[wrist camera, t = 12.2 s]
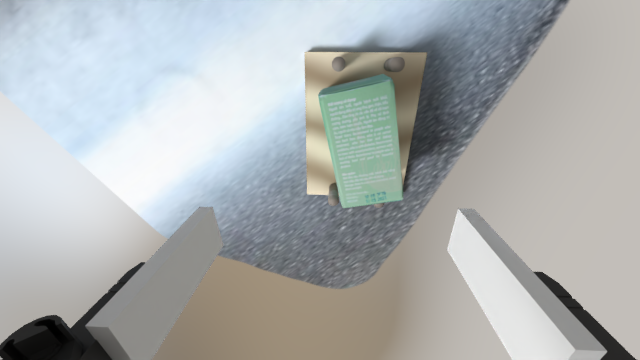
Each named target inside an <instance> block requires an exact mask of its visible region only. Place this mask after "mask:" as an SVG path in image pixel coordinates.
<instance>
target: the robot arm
mask: <svg viewBox="0 0 640 360" xmlns="http://www.w3.org/2000/svg"><path fill="white" fill-rule="evenodd" d="M222 247H223V242H222V239H221V235H220V232H219V228H218V224H217V221H216V217H215V214H214V210H213V207H199V208H198V209H197V210H196V211H195V212H194V213H193V214H192V215H191V216H190V217H189V218H188V219H187V220H186V221H185V222H184V223H183V224H182V226H181V227H180V228H179V229H178V230H177V231H176V232H175V233H174V234H173V235H172V236H171V237H170V238H169V239H168V240H167V241H166V242H165V243H164V244H163V245H162V247H160V248H159V249H158V251H157V252H156V253H155V254H154V255H153V256H152V257H151V258H150V259H149V260H148V261H147V262H146V263H145V262H141V263H140V264H138V265H137V266H135V267H134V268H132V269H131V270H129V271H128V272H127V273H126V274H125V275H124V276H123V277H122V278H121V279H120V280H119V281H118V282H117V284H115V285H114V286H113V287H112V288H111V289H110V290H109V291H108V293H106V294H105V295H104V296H103V297H102V298H101V299H100V300H99V301H98V302H97V303H96V304H95V305H94V306H93V307H92V308H91V309H90V310H89V311H88V312H87V313H86V314H85V315H84V316H83V317H82V318H81V319H80V320H79V321H77V322H76V323H75V325H74V326H73V327H72V328H69V327H68V326H67V324H66V323H65V322H64V321H63V320H62V318H60V317H58V316H57V315H51V316H45V317H42V318H39V319H36V320H34V321H32V322H30V323H28V324H26V325H24V326H23V327H21V328H20V329H18V330H17V331H15V332H14V333H12V334H11V335H10V336H9V337H8V338H7V339H6V340H5V341H4V342H3V343H1V345H0V356H1V358H3V359H2V360H152V358H153V357H154V355H155V354H156V352H157V351H158V349H159V347H160V346H161V344H162V343H163V341H164V339H165V338H166V336H167V335H168V333H169V331H170V329H171V328H172V327H173V325H174V323H175V322H176V320H177V319H178V317H179V315H180V314H181V312H182V311H183V309H184V307H185V306H186V304H187V303H188V301H189V299H190V298H191V296H192V294H193V293H194V291H195V290H196V288H197V287H198V285H199V283H200V282H201V280H202V279H203V277H204V275H205V274H206V272H207V270H208V269H209V267H210V266H211V264H212V263H213V261H214V259H215V258H216V256H217V255H218V253H219V251H220V250H221V248H222ZM447 250H448V252H449V254H450V255H451V257H452V258H453V260H454V262H455V264H456V265H457V267H458V269H459V270H460V272H461V274H462V275H463V277H464V279H465V281H466V282H467V284H468V286H469V287H470V289H471V291H472V293H473V294H474V296H475V298H476V299H477V301H478V302H479V304H480V306H481V308H482V309H483V311H484V313H485V315H486V316H487V318H488V319H489V321H490V323H491V325H492V326H493V328H494V330H495V331H496V333H497V335H498V336H499V338H500V340H501V341H502V343H503V345H504V347H505V348H506V350H507V352H508V353H509V355H510V357H511V359H512V360H636V359H635V358H634V357H633V356H632V355H630V354H629V353H628V352H627V351H626V350H625V349H624V348H623V347H622V346H621V345H620V344H619V343H618V342H617V341H616V340H615V339H614V338H613V337H612V336H611V335H610V334H609V333H608V332H607V331H606V330H605V329H604V328H603V327H602V326H601V325H600V324H599V323H598V322H597V321H596V320H595V319H594V318H593V317H592V316H591V315H590V314H589V313H588V312H587V311H586V310H584V309H583V307H582V306H581V305H580V304H579V303H578V302H577V301H576V300H575V299H572V296H571V295H570V294H569V293H568V292H567V291H566V290H565V289H564V288H563V287H562V286H561V285H560V284H559V283H558V282H556V281H555V280H553V279H552V278H550V277H549V276H547V275H546V274H544V273H543V272H533V271H532V270H531V269H530V268H529V267H528V266H527V265H526V264H525V263H524V262H523V261H522V260H521V259H520V258H519V256H518V255H517V254H516V253H515V252H514V251H513V250H512V249H511V248H510V247H509V246H508V245H507V244H506V243H505V241H504V240H503V239H502V238H501V237H500V236H499V235H498V234H497V233H496V232H495V231H494V230H493V229H492V228H491V227H490V226H489V224H488V223H487V222H486V221H485V220H484V219H483V218H482V217H481V216H480V215H479V214H478V213H477V212H476V211H475V210H474V209H458V211H457V215H456V219H455V223H454V226H453V230H452V234H451V237H450V241H449V245H448V248H447Z"/></svg>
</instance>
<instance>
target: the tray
mask: <svg viewBox="0 0 640 360" xmlns="http://www.w3.org/2000/svg"><path fill="white" fill-rule="evenodd" d="M426 57H427V52H305V98H306V153H307V194H317V195H329V197H328V203H329V204H330V205H332V206H335V205H337V204H338V203H339V192H338V187H337V183H336V178H335V173H334V168H333V164H332V159H331V155H330V150H329V145H328V141H327V136H326V132H325V127H324V122H323V118H322V113H321V108H320V104H319V98H318V94H319V92H320V91H321V90H322V89H324V88H328V87H332V86H336V85H340V84H344V83H348V82H353V81H357V80H361V79H365V78H369V77H373V76H377V75H381V74H385V75H386V76H388V77H391V78H392V80H393V83H394V86H395V104H396V115H397V127H398V139H399V150H400V161H401V172H402V183H404V178H405V172H406V167H407V161H408V156H409V150H410V145H411V139H412V134H413V128H414V123H415V117H416V112H417V106H418V101H419V95H420V90H421V84H422V79H423V73H424V68H425V62H426ZM383 205H384V203H379V204H374V206H375V207H377V208H380V207H382V206H383Z"/></svg>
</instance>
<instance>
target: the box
mask: <svg viewBox="0 0 640 360" xmlns="http://www.w3.org/2000/svg"><path fill="white" fill-rule="evenodd" d="M318 98H319V104H320V108H321V113H322V118H323V122H324V127H325V132H326V136H327V141H328V145H329V150H330V155H331V159H332V164H333V168H334V173H335V178H336V183H337V187H338V192H339V197H340V201H341V204H342V207H343V208H349V207H356V206H364V205H371V204H379V203H386V202H394V201H401V200H403V183H402V172H401V161H400V150H399V139H398V127H397V115H396V104H395V86H394V83H393V80H392V78H391V77H388V76H386V75H385V74H381V75H377V76H373V77H369V78H365V79H361V80H357V81H353V82H348V83H344V84H340V85H336V86H332V87H328V88H324V89H322V90H321V91H320V92H319V94H318Z"/></svg>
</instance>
